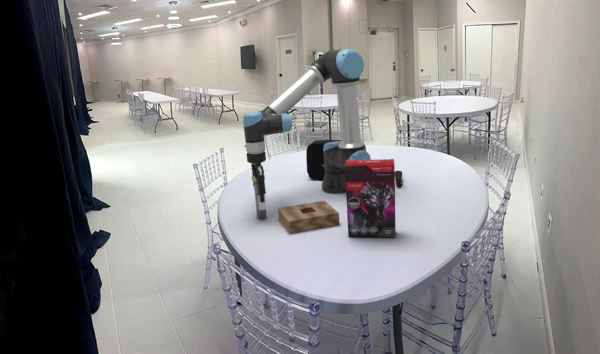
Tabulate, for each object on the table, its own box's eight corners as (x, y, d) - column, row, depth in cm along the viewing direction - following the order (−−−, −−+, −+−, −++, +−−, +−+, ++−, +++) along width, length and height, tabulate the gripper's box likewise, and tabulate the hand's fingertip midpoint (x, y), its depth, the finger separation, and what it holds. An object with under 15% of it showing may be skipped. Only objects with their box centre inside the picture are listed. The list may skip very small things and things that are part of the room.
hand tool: (394, 177, 226) (394, 169, 225) (402, 177, 225) (402, 168, 224) (393, 189, 208) (392, 179, 207) (401, 189, 207) (401, 179, 206)
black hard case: (307, 180, 230) (304, 143, 225) (313, 174, 241) (311, 138, 236) (364, 182, 221) (363, 143, 215) (368, 175, 232) (368, 138, 226)
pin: (266, 214, 185) (263, 173, 180) (269, 218, 180) (265, 176, 175) (254, 216, 184) (250, 175, 179) (257, 221, 179) (252, 178, 174)
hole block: (325, 211, 184) (324, 200, 183) (339, 225, 169) (338, 212, 168) (278, 219, 179) (278, 207, 178) (289, 233, 164) (288, 221, 163)
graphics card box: (347, 237, 158) (344, 164, 150) (348, 230, 164) (346, 159, 157) (395, 238, 154) (395, 163, 147) (395, 230, 161) (395, 158, 153)
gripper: (242, 148, 182) (247, 201, 189) (250, 157, 165) (256, 215, 171) (260, 146, 184) (264, 198, 191) (270, 155, 167) (275, 212, 173)
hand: (260, 206), depth 181 cm, fingers open, 6 cm apart
